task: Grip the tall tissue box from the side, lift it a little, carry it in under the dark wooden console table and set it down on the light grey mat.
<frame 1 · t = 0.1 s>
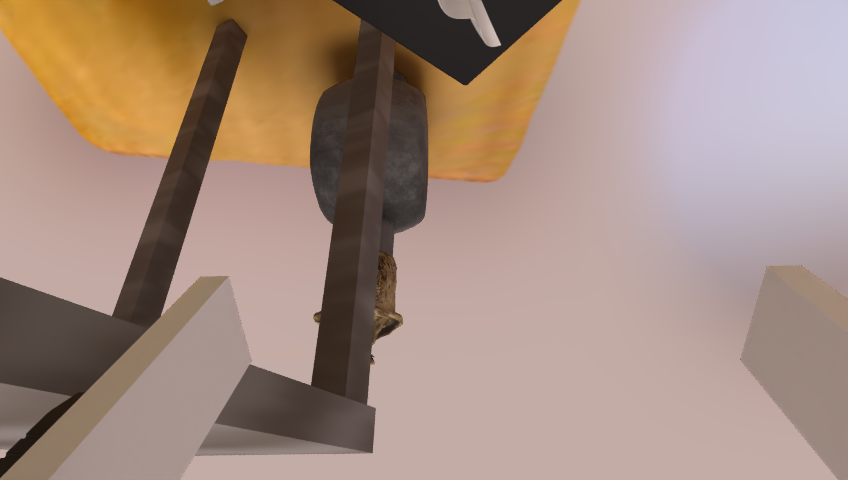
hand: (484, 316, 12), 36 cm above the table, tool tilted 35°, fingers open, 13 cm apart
pitcher: (382, 103, 54), on the table
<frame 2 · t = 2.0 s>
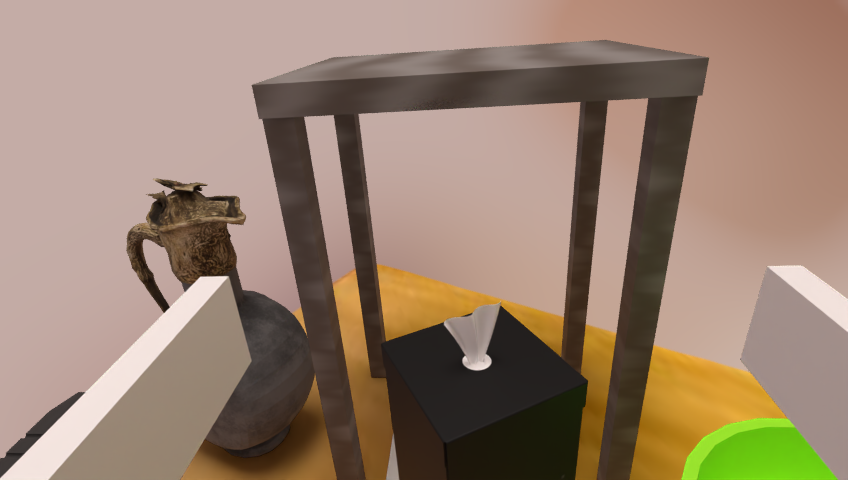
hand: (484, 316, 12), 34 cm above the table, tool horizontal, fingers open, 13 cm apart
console: (475, 423, 52), on the table
pitcher: (245, 428, 54), on the table
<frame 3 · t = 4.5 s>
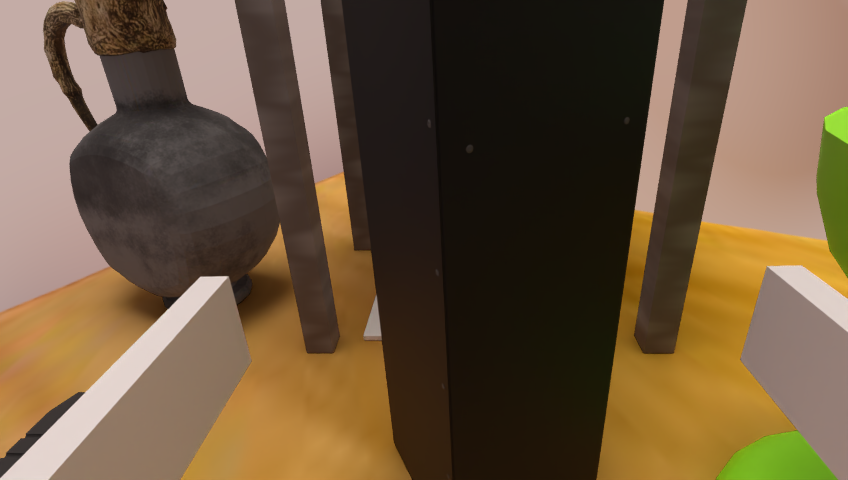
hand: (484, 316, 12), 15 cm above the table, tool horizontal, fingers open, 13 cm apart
tissue box: (487, 470, 25), on the table
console: (479, 284, 42), on the table
pitcher: (197, 293, 44), on the table
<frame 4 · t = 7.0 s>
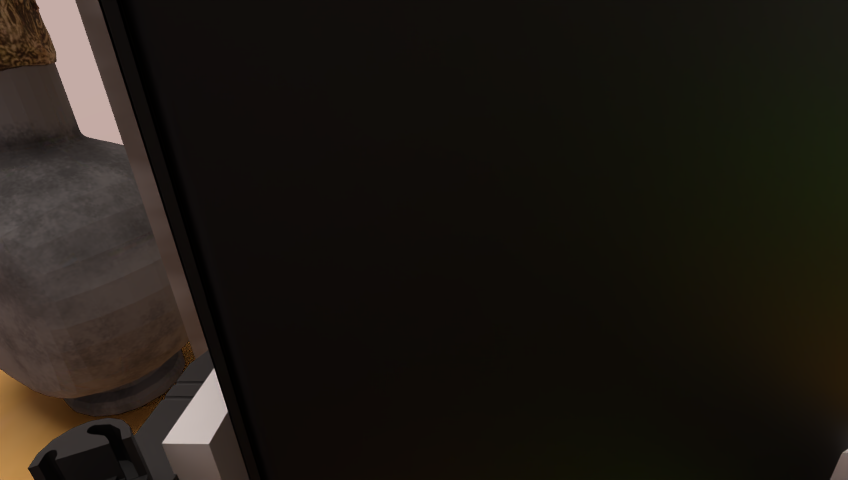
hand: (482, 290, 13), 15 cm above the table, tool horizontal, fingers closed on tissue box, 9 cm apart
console: (477, 367, 32), on the table
pitcher: (115, 375, 34), on the table
when the fingers open (17 cm above the table, at t = 12.5 s): tissue box drops 1 cm, resting on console.
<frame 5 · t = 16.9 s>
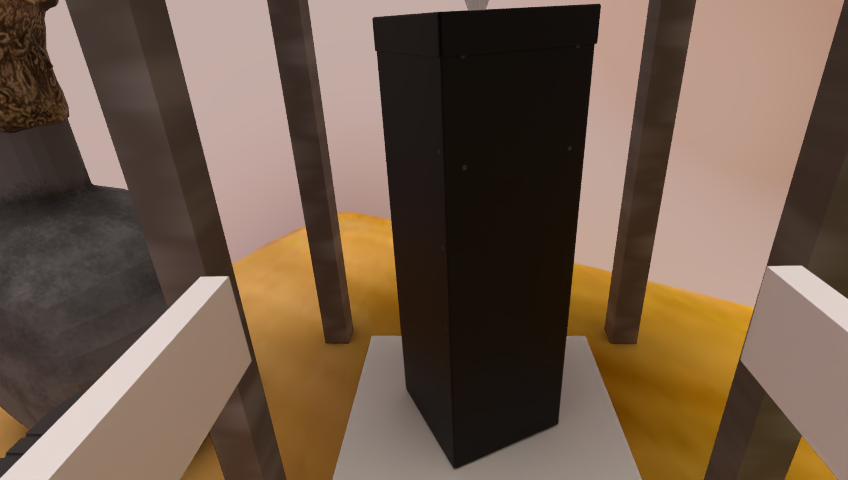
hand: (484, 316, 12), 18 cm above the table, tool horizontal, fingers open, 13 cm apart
tissue box: (478, 408, 33), resting on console
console: (480, 410, 33), on the table
pitcher: (121, 413, 35), on the table
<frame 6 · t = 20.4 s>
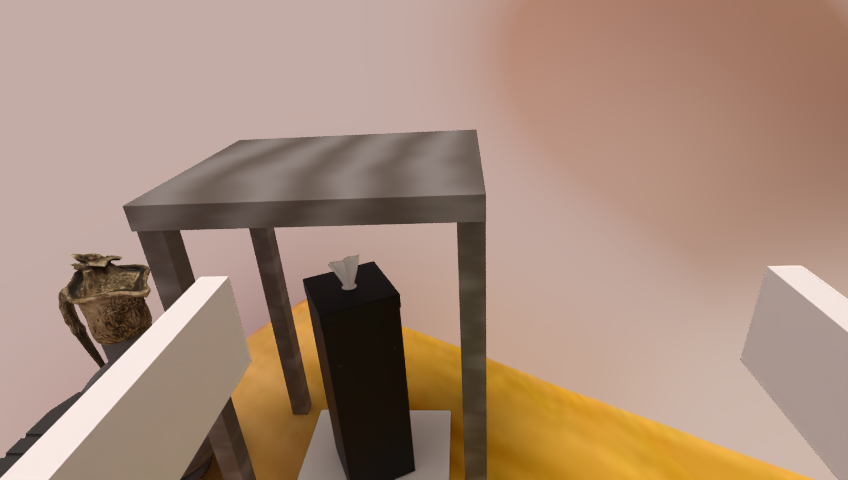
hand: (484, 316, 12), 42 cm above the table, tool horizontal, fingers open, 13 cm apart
tissue box: (374, 460, 58), resting on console
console: (376, 461, 58), on the table
pitcher: (171, 463, 60), on the table
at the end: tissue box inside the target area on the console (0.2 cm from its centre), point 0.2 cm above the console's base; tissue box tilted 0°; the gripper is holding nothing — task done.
